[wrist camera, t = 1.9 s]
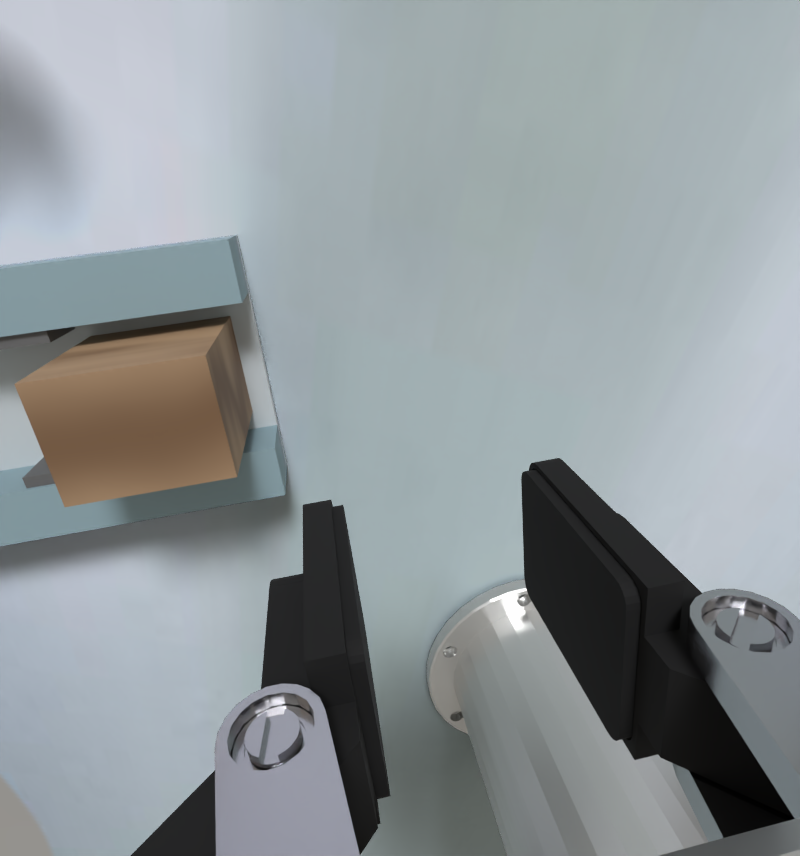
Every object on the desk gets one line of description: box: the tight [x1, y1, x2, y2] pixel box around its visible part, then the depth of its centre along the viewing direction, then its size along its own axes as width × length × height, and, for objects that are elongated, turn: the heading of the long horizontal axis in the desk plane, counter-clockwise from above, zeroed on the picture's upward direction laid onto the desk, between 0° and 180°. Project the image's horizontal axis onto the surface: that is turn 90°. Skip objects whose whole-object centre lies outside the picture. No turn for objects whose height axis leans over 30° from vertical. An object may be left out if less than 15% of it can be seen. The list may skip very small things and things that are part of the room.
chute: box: [0, 235, 287, 546], centre depth 24 cm, size 11×17×3 cm, turn 97°
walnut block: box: [14, 316, 253, 507], centre depth 22 cm, size 5×6×7 cm
